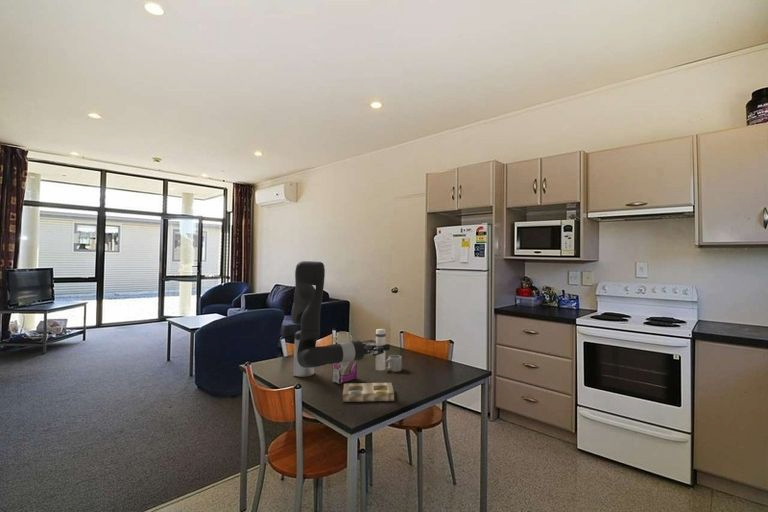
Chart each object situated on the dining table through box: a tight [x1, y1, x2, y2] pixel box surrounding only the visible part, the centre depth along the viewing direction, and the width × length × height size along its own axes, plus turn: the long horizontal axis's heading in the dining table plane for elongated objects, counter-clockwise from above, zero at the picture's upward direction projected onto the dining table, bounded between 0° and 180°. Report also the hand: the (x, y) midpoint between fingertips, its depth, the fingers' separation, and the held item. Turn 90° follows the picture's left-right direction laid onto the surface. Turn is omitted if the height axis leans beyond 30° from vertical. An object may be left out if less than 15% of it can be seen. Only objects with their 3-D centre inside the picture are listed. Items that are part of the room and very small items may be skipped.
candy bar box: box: [332, 360, 358, 385], centre depth 167 cm, size 11×5×16 cm, turn 141°
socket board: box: [342, 382, 395, 403], centre depth 148 cm, size 20×12×3 cm, turn 94°
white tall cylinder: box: [374, 328, 387, 371], centre depth 149 cm, size 4×4×16 cm
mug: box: [384, 354, 403, 373], centre depth 182 cm, size 10×7×7 cm
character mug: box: [333, 331, 353, 344], centre depth 209 cm, size 11×7×13 cm, turn 110°
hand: (386, 345), depth 150 cm, fingers closed on white tall cylinder, 4 cm apart
